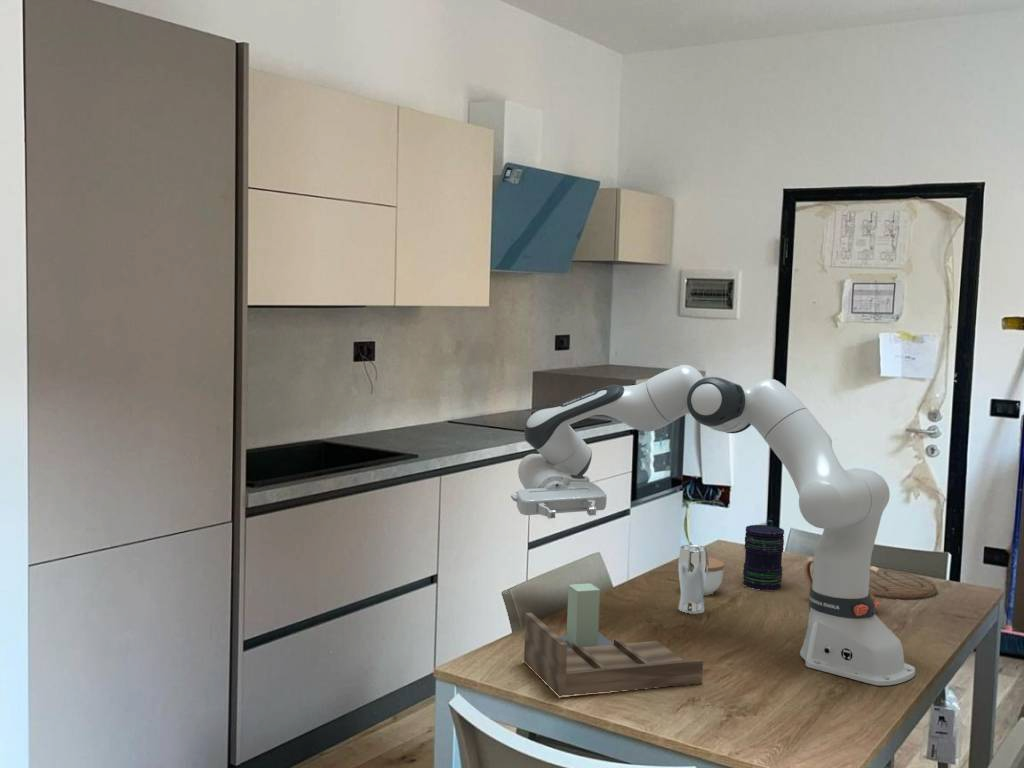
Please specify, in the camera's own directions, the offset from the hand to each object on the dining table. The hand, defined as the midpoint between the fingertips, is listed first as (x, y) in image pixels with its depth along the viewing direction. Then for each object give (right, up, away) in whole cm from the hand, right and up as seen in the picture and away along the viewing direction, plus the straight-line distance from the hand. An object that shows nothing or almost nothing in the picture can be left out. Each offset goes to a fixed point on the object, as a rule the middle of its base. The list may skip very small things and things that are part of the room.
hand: (572, 513), depth 219 cm
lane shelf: (+7, -28, -23) cm, 37 cm away
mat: (+1, -27, -7) cm, 28 cm away
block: (+1, -26, -7) cm, 27 cm away
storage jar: (+52, -24, +43) cm, 71 cm away
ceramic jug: (+66, -26, +26) cm, 76 cm away
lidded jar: (+34, -24, +35) cm, 55 cm away
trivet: (+85, -25, +46) cm, 100 cm away
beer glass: (+29, -25, +19) cm, 43 cm away
